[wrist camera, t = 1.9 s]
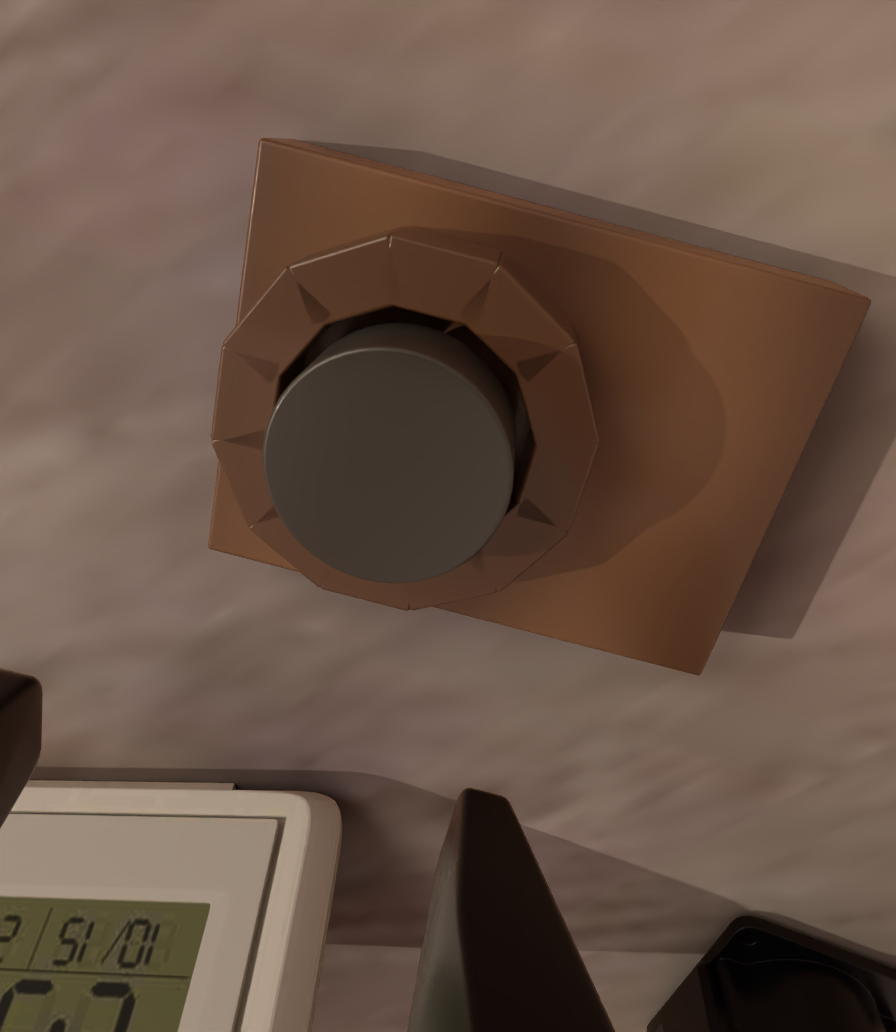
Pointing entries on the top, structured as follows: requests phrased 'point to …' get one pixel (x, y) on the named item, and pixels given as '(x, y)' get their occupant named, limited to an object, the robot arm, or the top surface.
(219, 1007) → the digital clock
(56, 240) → the top surface
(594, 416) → the button box
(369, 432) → the button
